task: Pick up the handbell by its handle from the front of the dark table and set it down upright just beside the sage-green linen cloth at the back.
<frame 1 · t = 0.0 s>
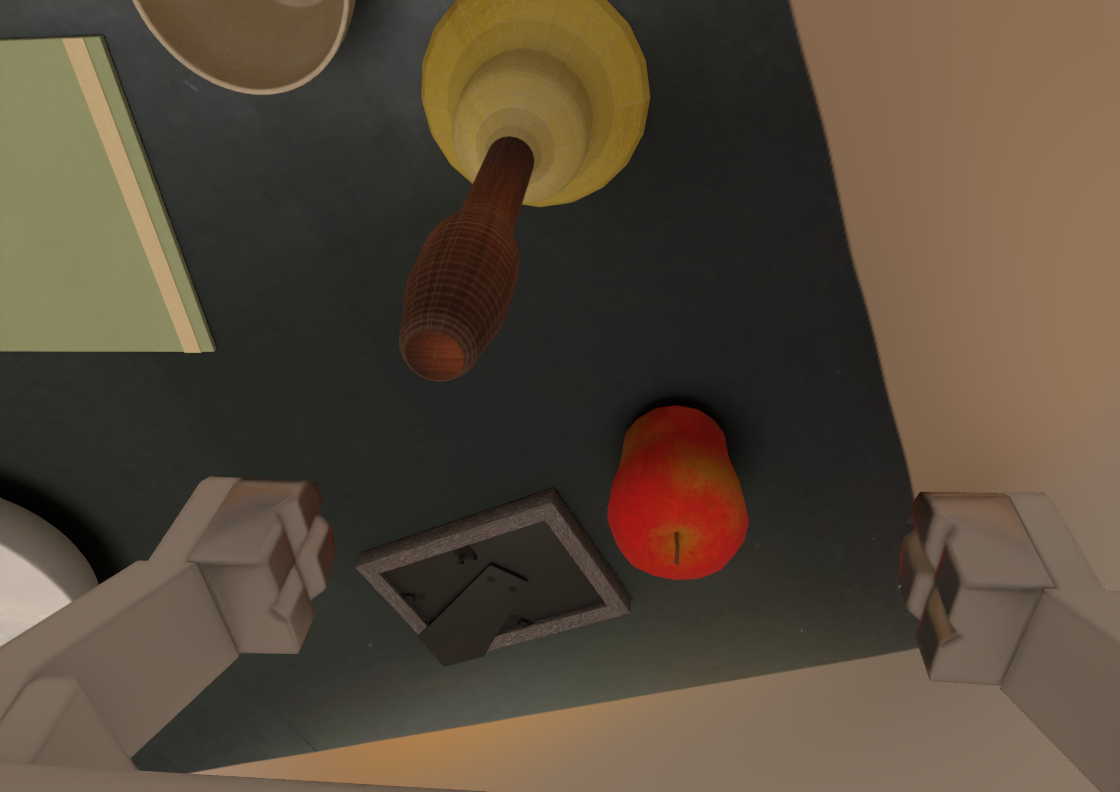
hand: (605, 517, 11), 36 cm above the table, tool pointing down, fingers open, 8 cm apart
cloth: (29, 212, 50), on the table
apple: (673, 432, 56), on the table
picture frame: (496, 573, 67), on the table
serving bowl: (12, 542, 70), on the table
handbell: (534, 97, 44), on the table
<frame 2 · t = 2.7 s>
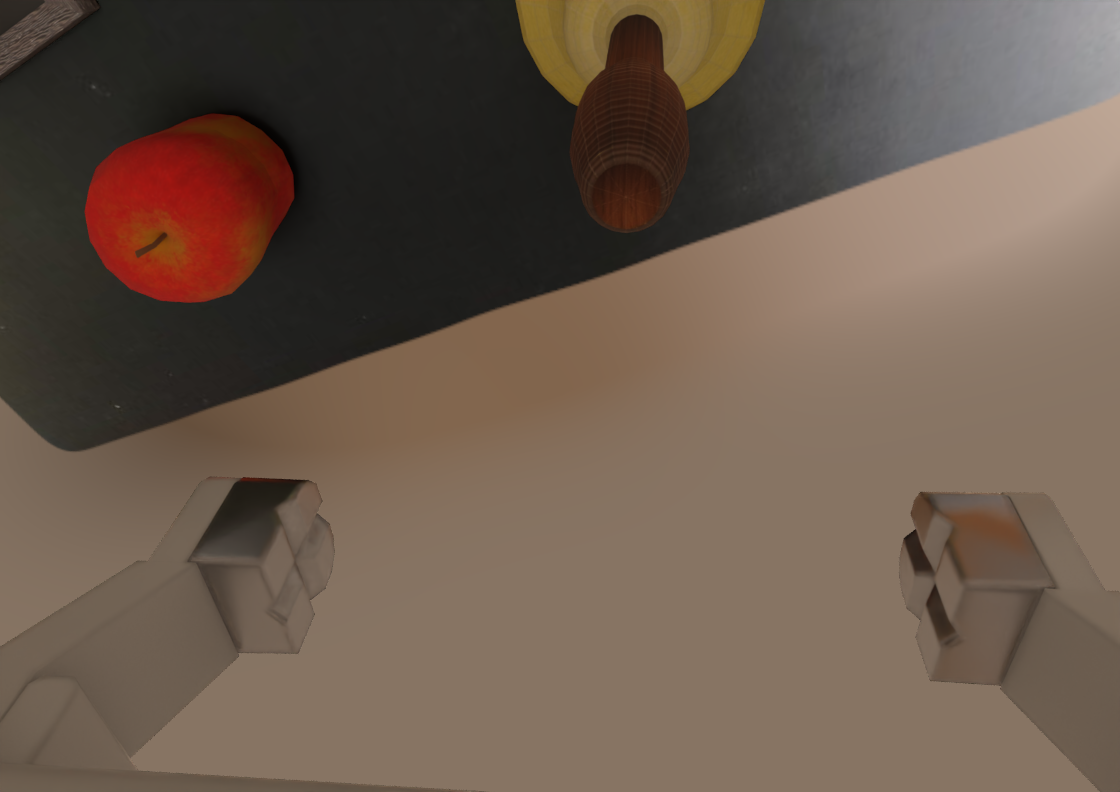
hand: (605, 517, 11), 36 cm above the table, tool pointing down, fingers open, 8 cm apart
apple: (243, 164, 47), on the table
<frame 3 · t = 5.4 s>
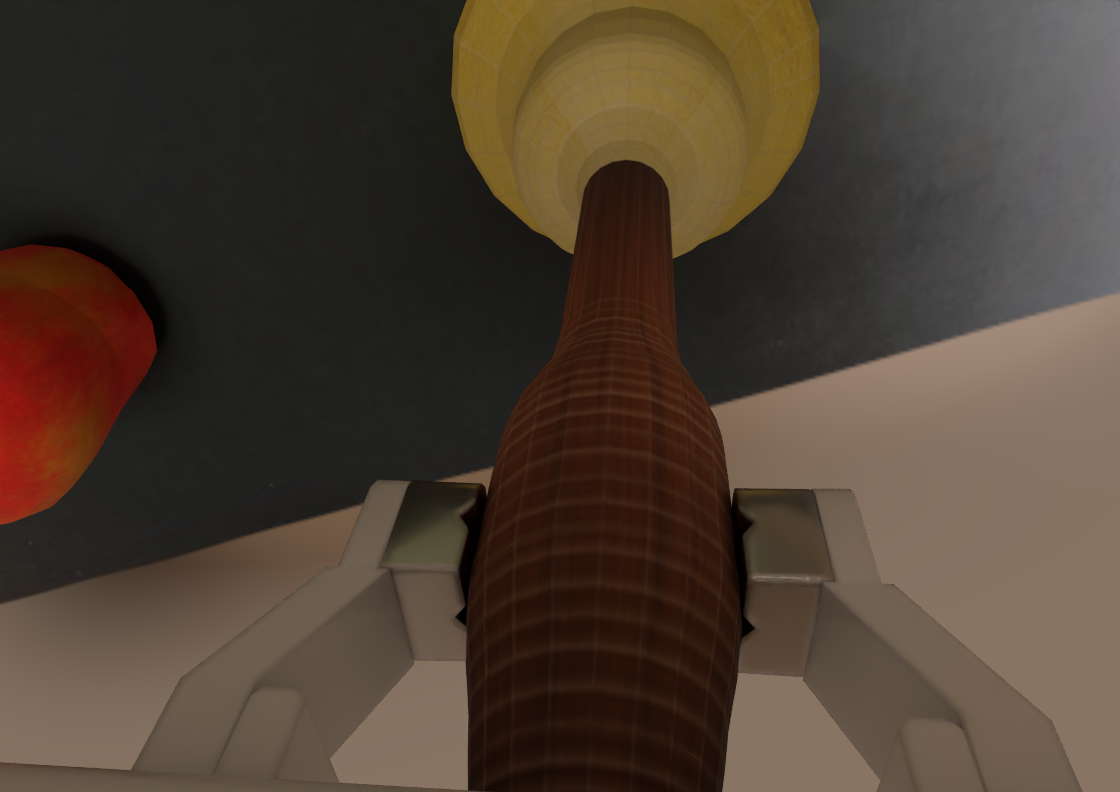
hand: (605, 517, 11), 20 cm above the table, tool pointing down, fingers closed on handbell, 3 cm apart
apple: (90, 300, 35), on the table
handbell: (631, 91, 28), on the table, touching gripper
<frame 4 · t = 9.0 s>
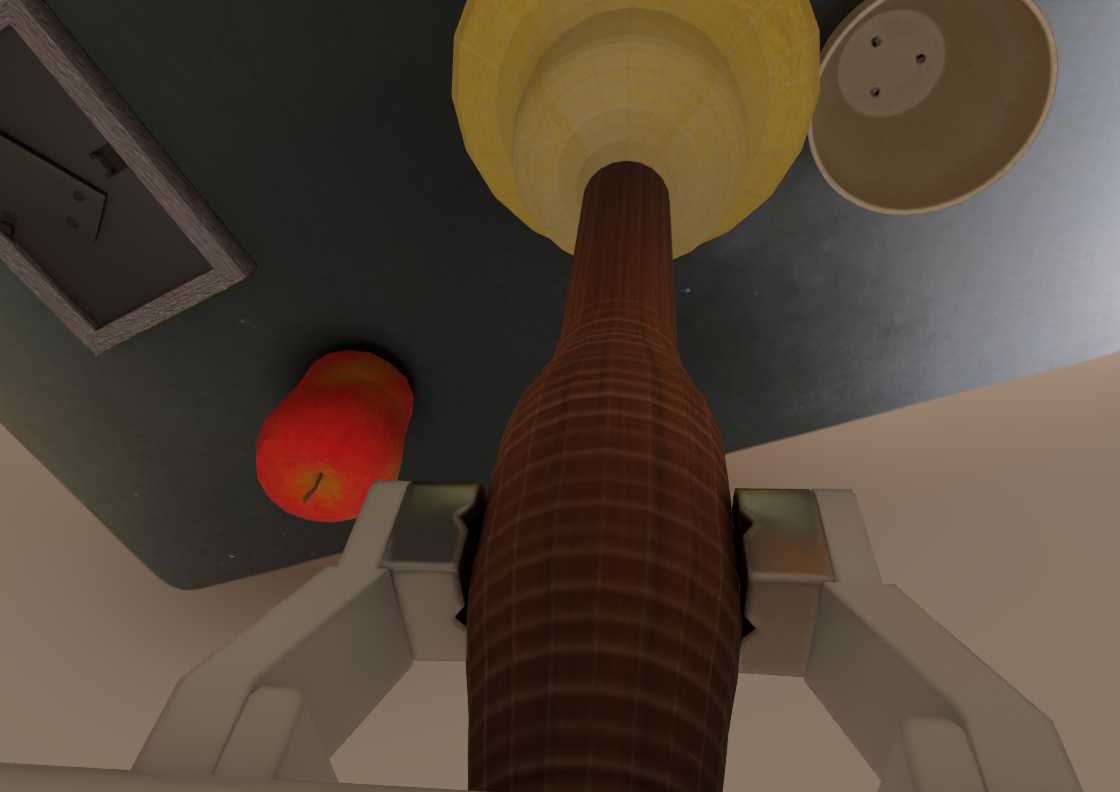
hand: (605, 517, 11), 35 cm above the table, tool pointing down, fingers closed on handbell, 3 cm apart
flower pot: (888, 59, 40), on the table
apple: (366, 379, 55), on the table
picture frame: (74, 184, 48), on the table
handbell: (632, 92, 28), point 15 cm above the table, touching gripper
when the fingers open (20 cm above the table, at t = 12.6 s): handbell stays where it is, on the table.
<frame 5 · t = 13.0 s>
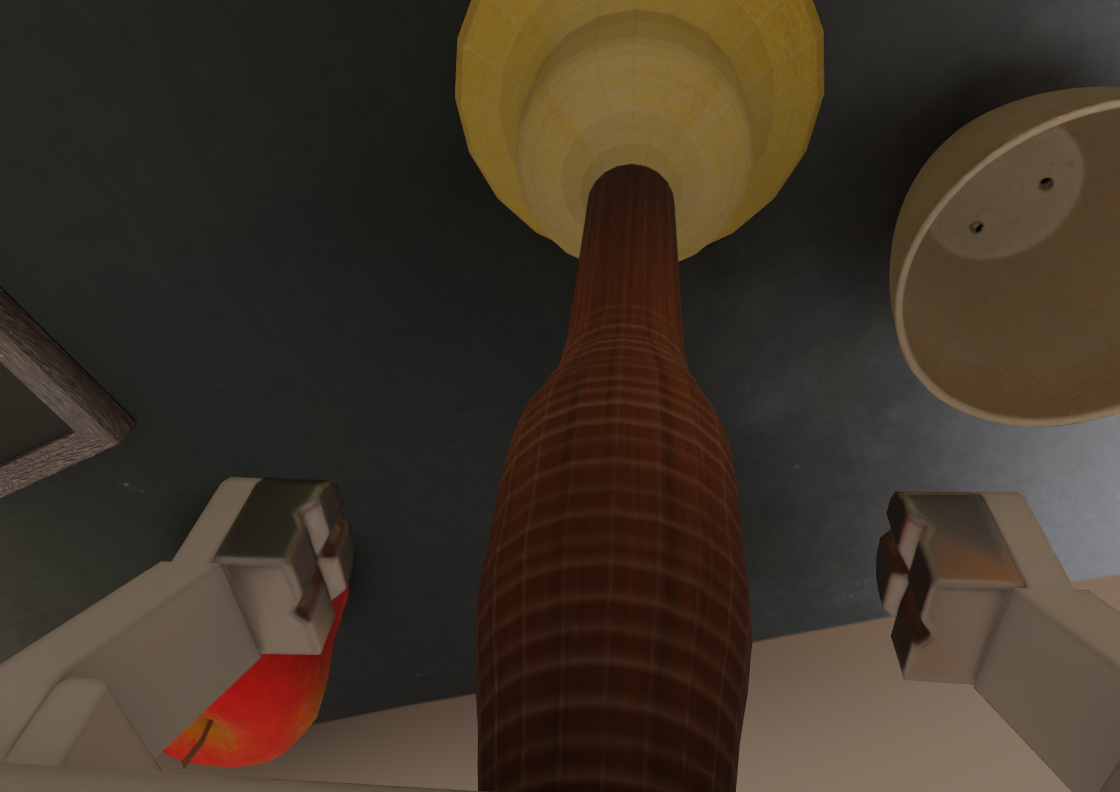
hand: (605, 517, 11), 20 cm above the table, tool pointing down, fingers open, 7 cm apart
flower pot: (996, 181, 28), on the table
apple: (290, 550, 43), on the table
handbell: (635, 93, 27), on the table
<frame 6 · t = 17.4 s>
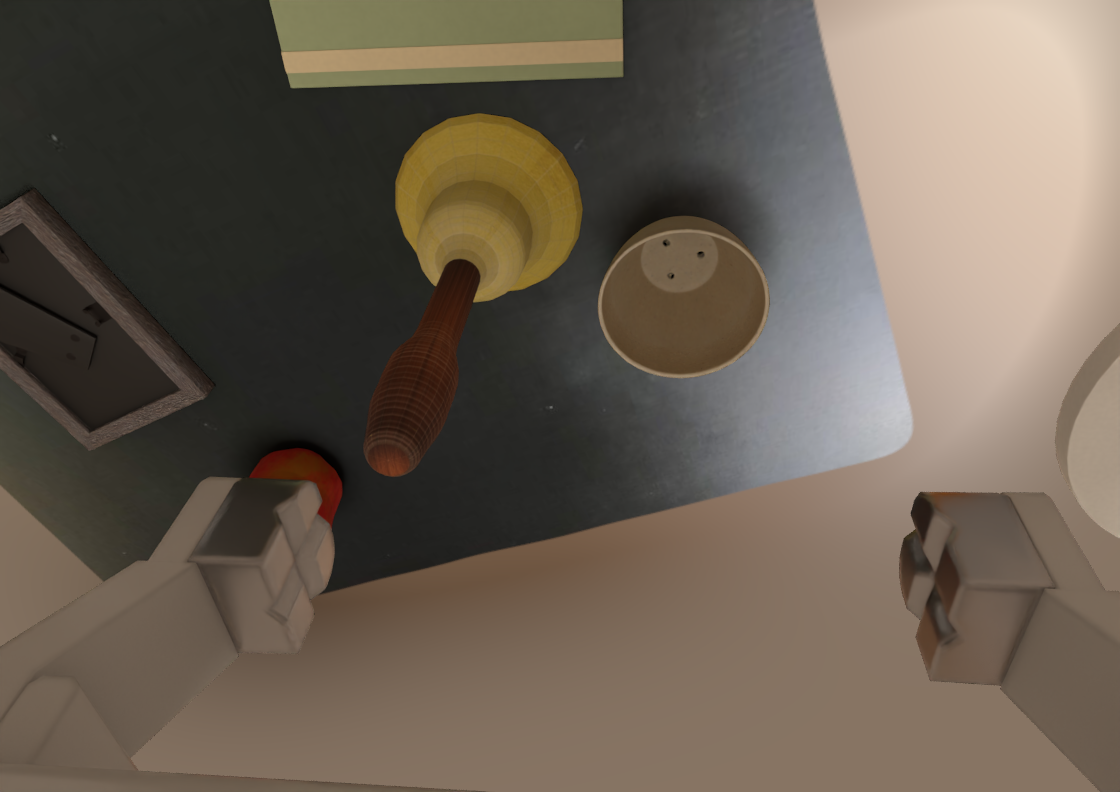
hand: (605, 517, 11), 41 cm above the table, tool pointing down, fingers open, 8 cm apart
flower pot: (679, 252, 54), on the table
apple: (306, 467, 68), on the table
picture frame: (72, 325, 62), on the table
handbell: (488, 207, 53), on the table
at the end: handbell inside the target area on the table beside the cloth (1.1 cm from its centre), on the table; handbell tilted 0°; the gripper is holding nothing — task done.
